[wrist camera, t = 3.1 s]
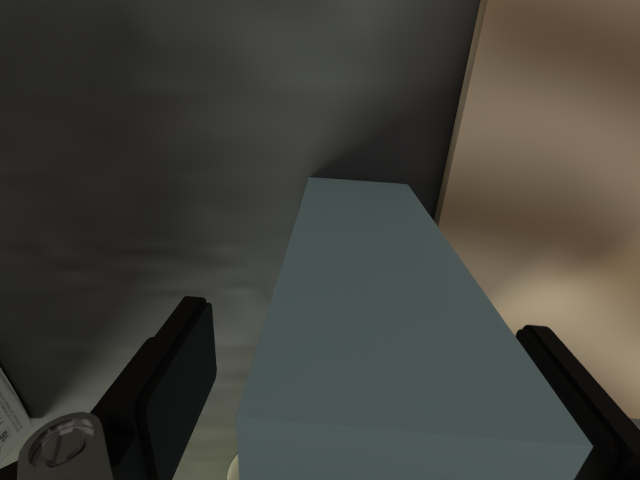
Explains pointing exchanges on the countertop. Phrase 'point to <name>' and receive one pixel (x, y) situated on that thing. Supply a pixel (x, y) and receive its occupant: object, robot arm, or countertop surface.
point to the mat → (554, 177)
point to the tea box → (11, 418)
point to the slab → (392, 358)
